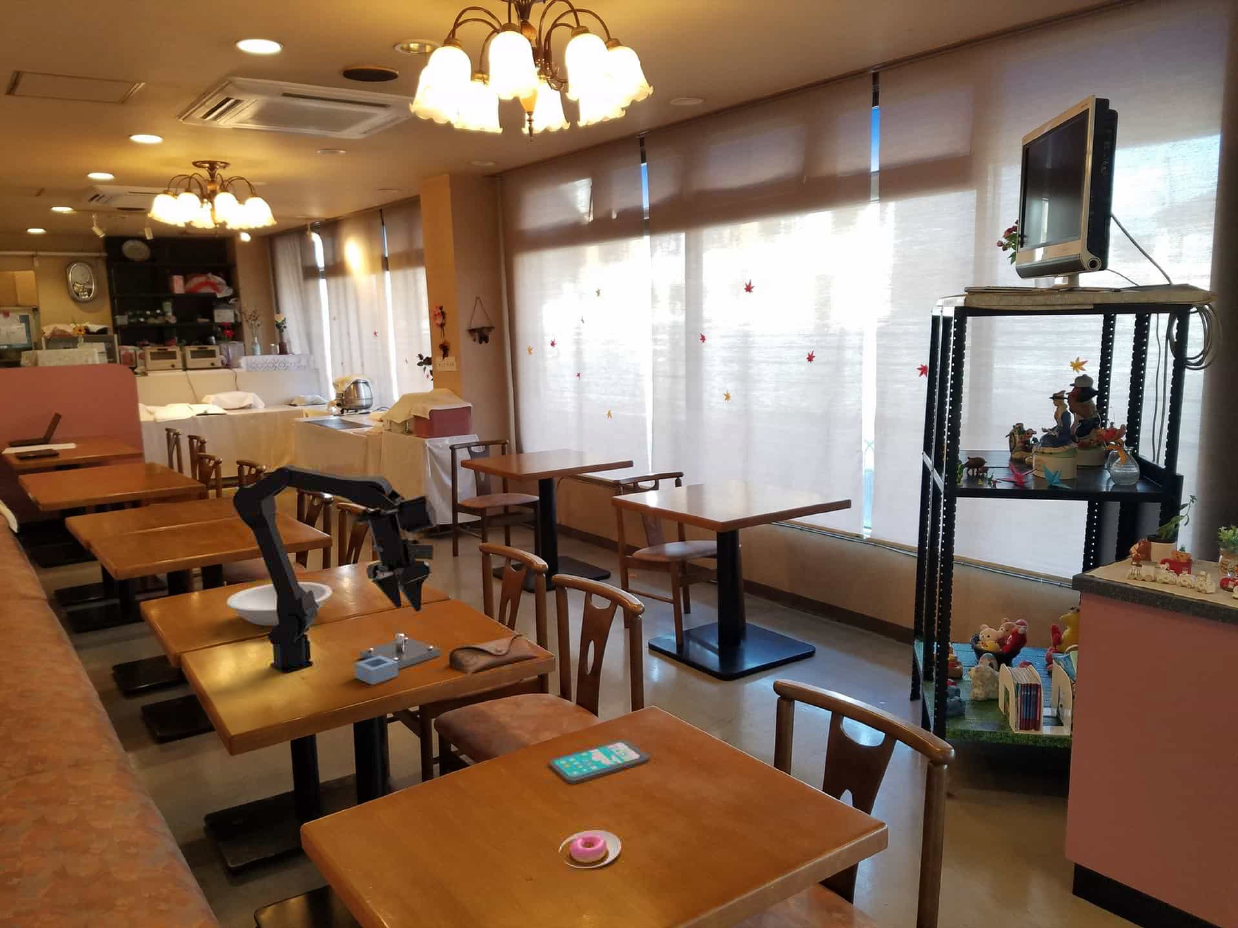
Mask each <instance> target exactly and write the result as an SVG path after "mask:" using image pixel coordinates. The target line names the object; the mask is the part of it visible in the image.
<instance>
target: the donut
mask: <svg viewBox="0 0 1238 928" xmlns="http://www.w3.org/2000/svg"><path fill="white" fill-rule="evenodd" d="M570 841H572V843H571V844H570V847H569V853H570V854H571V857H572V858H573V859H574V860H575V861H577V862H580V863H583V864H584V863H594V862H598V861H599V860H601V859H603V857H604V856H605V855H606V853H607V851H608V857H607V858H606V860H604V861H603V862H601V863H600V864H599V863H598V864H596V865H593V866H577V865H572V864H570V863H568V862H567V861H565V860H562V861H563V862H564V863H565V864H567V865H569V866H570V867H573V868H576V869H577V868H579V869H593V868H599V867H601V866H605V865H606V864H608V863H610V862H612V861H614V859H615V858H616V857H617V856H618V855H619V854H620V852H621V850H622V843H621V841H620V839H619V838H618V837H617V836H616V835H614V834H613V833H612V832H609V831H606V830H596V829H594V830H585V831H581V832H577V833H575V834H573V835H571V836H569V837H567V839H565V840H564V841H563V843H561V846H560V847H559V851H558V852H559V853H560V852H561V849H562V847H563V846H564V845H565V844H567V843H568V842H570Z"/></svg>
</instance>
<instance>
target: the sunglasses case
mask: <svg viewBox="0 0 1238 928" xmlns="http://www.w3.org/2000/svg"><path fill="white" fill-rule="evenodd" d="M539 657H540V656H539V655H537V654H536V653H535V651H534V650H533V649H532V648H531V646H530V645H529V644H528V643H527V641H526V640H525V639H524V638H523V635H522V634H521V633H520V634H519V633H518V634H515V635H513V636H510V637H504V638H501V639H496V640H490V641H486V642H481V643H478V644H474V645H471V646H470V645H469V646H468V645H467V646H460V647H457V648H454V649H453V650H452V651H451V652H450V654H449V657H448V660H449V662H448V663H449V665H450V666H452V667H454V668H455V669H457V670H459V671H460V672H462V673H464V674H467V675H473V674H478V673H480V672H484V671H487V670H490V669H494V668H498V667H502V666H506V665H509V664H513V663H514V664H515V663H518V662H522V661H527V660H531V659H537V658H539Z"/></svg>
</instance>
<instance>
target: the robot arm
mask: <svg viewBox="0 0 1238 928" xmlns="http://www.w3.org/2000/svg"><path fill="white" fill-rule="evenodd" d="M288 487H289V488H294V489H300V490H304V491H305V490H306V491H308V492H315V493H321V494H324V495H325V494H326V495H330V496H331V495H332V496H337V497H341V498H344V499H347V501H349V502H351V503H352V504H356V505H357V506H360V507H363V509H362V512H361V514H360V516H359V518H358V519H357V523H359V524H360V523H364V522H368V524H369V528H370V531H371V534H372V538H373V542H374V545H372V547H371V548H372V551H373V552H377V555H378V559H379V560H378V561H376V562H373V563H370V564H368V566H367V567H366V570H365V571H366V575H367V578H368V580H369V579H370V580H371V582H372V583H373V584H374V585H375V586H376V587H377V588H378V589H379V590H380V591H381V592H382V593H383V595H384V596H386V598H387V599H388V600H389V601H390V603H392V605H393V606H394V607H395V608H396V609H399V608H401V607H402V606H403V605H402V597H401V592H402V593H403V595H404V597H405V599H406V600H407V601H408V602H409V604H410V606H411V608H413V610H414V611H415V612H419V611H421V609H422V594H423V593H422V591H423V590H422V588H423V584H424V582H425V580H426V579H428V578H429V576H430V574H431V573H432V569H431V566H430V563H428V562H427V561H425V560H429V561H431V560H432V561H433V560H434V549H435V545H434V544H427V543H426V544H425V543H423V544H422V543H421V544H420V541H419V540H418V539H410V538H407V537H404V536H403V533H402V532H403V531H406V532H407V533H413V532H418V531H421V530H425V529H429V528H434V527H437V524H438V523H437V522H438V520H437V519H438V518H437V513H436V508H435V507H434V506H433V504H432V502H431V501H430V499H429V496H428V494H426V493H425V494H421V495H419V496H418V497H413V498H409V499H407V498H405V497H404V496H403V495H401V494H400V493H399V492H398V491H397V490H395V489H394V488H393V486H392V484H391V482H390V481H389V479H387V478H386V477H384V476H375V475H373V476H369V475H368V476H367V475H366V476H365V475H364V476H344V475H341V474H336V473H335V474H333V473H328V472H323V471H318V470H314V469H308V468H302V467H297V466H295V465H293V464H287V465H286V464H285V465H283V466H280V467H277V468H276V469H275V470H274V471H273V472H272V473H270V474H269V475H267V476H266V477H264V478H262V479H261V480H259V481H257V482H254V483H252V484H250V485H246V486H244V487H241V488H239V489H237V491H236V492H235V493H234V496H233V497H232V506H233V508H234V509H235V511H236V513H237V515H238V517H239V518H240V519H241V521H242V522H243V523H244V524H245V525H246V526H247V527H248V528H249V529H250V530H251V531H252V533H253V536H254V539H255V541H256V544H257V546H258V549H259V551H260V555H261V557H262V560H263V561H264V562H263V563H264V565H265V567H266V570H267V572H268V575H269V578H270V581H271V584H273V586H274V589H275V591H276V594H277V606H276V612H277V617H278V622H279V624H278V625H276V626H274V627H273V629H272V630H271V631H269V633H268V634H267V638H268V641H269V642H270V644H271V645H272V654H273V655H272V657H273V662H271V663H269V667H271V668H273V669H275V670H277V671H280V672H282V673H284V674H286V673H289V672H293V671H294V672H295V671H297V670H300V669H304V668H306V667H309V666H313V665H314V661H311V658H312V656H311V654H312V653H311V641H309V639H308V634H306V632H307V633H308V632H309V630H310V626H311V625H312V624H313V623H314V622H315V621H316V619H317V617H318V612H319V611H318V610H317V608H318V607H319V605H318V604H317V603H316V601H315V599H314V594H313V591H312V590H310V591H308V592H305V591H304V590H303V589H302V588H301V587H300V586H299V584H298V582H299V581H298V579H297V576H296V572H295V571H294V568H293V566H292V565H293V564H292V563H291V560H290V557H289V555H288V553H287V550H286V546H285V544H284V542H283V538H282V537H281V534H280V531H279V528H278V526H277V522H276V521H277V520H276V518H277V517H276V515H277V504H276V500H275V497H277V496H278V495H279V494H281V493H282V492H283V491H285V489H287V488H288ZM402 530H403V531H402ZM417 559H418V560H417ZM400 591H401V592H400Z"/></svg>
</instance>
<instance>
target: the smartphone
mask: <svg viewBox="0 0 1238 928" xmlns="http://www.w3.org/2000/svg"><path fill="white" fill-rule="evenodd" d="M648 761H650V756H649V754H648V753H646V752H645V751H643V750H642V749H641V748H639V747H637V745H635V744H633V743H632V742H631V741H630V740H625V739H622V740H617V741H612V742H609V743H604V744H602V745H598V746H594V747H592V748H588V749H587V748H586V749H583V750H579V751H577V752H573V753H570V754H569V753H568V754H565V755H561V756H559V757H555V758H552V759H550V760H549V761H548V767H549V768H551V769H552V770H553V772H555V773H556V774H557V775H558V776H560V778H562V779H563V780H564V781H565V782H566V783H567V784H572V785H573V784H579V783H582V782H583V783H584V782H586V781H589V780H594V779H598V778H599V777H603V776H607V775H610V774H613V773H615V772H619V771H622V770H625V769H629V768H633V767H636V766H639V765H643V764H645V763H647V762H648Z"/></svg>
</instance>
